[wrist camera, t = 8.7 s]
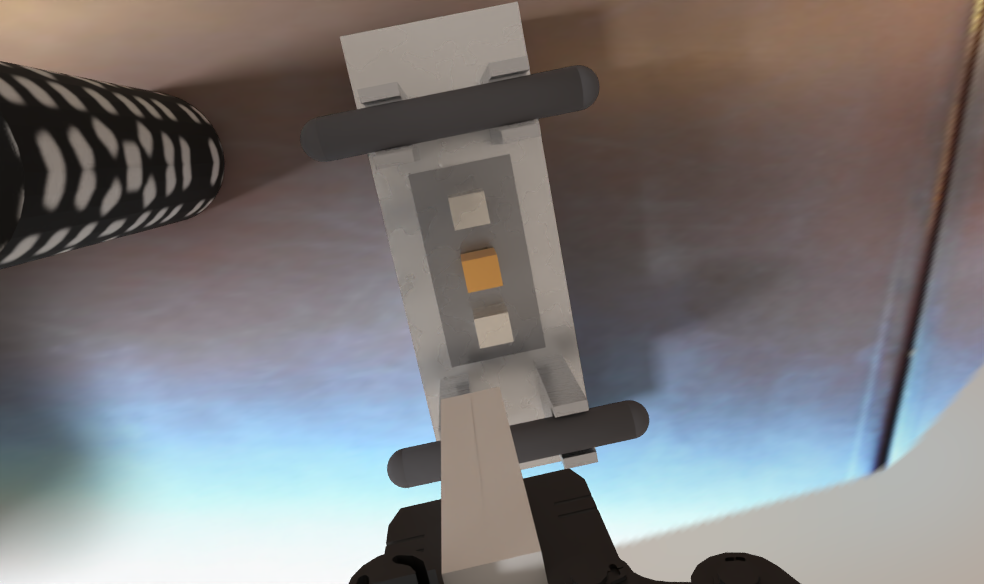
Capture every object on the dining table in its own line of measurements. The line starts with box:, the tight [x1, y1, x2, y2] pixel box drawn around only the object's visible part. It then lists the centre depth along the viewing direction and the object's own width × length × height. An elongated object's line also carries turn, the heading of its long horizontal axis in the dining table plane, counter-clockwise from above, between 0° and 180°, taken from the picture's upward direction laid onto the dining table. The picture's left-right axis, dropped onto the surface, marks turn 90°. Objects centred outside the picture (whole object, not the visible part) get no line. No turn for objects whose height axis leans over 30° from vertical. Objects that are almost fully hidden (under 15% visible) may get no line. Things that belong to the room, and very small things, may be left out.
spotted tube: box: [0, 61, 224, 269], centre depth 31 cm, size 8×8×20 cm
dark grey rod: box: [300, 65, 599, 162], centre depth 29 cm, size 14×2×2 cm, turn 101°
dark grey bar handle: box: [387, 400, 649, 488], centre depth 33 cm, size 14×2×2 cm, turn 101°
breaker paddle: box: [460, 247, 503, 293], centre depth 36 cm, size 2×2×3 cm
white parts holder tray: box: [340, 2, 598, 470], centre depth 37 cm, size 10×28×13 cm, turn 11°
